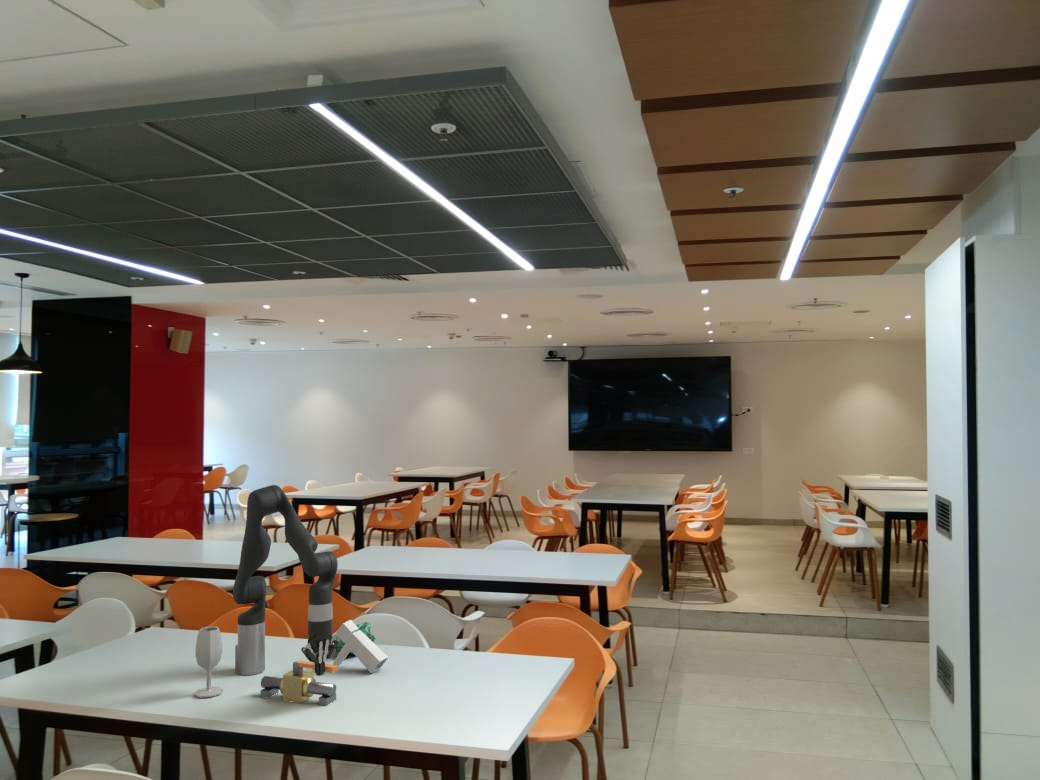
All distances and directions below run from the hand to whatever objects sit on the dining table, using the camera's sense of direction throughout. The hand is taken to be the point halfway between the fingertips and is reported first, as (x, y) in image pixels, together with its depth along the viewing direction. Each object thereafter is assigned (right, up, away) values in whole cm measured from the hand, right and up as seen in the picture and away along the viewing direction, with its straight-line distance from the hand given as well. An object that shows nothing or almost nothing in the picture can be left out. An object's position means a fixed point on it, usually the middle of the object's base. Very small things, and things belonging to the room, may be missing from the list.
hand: (319, 674), depth 231 cm
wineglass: (-40, -12, +13) cm, 43 cm away
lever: (-3, -2, +5) cm, 6 cm away
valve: (-9, -11, +7) cm, 16 cm away
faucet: (+4, -12, +35) cm, 38 cm away
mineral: (-2, -13, +56) cm, 58 cm away
